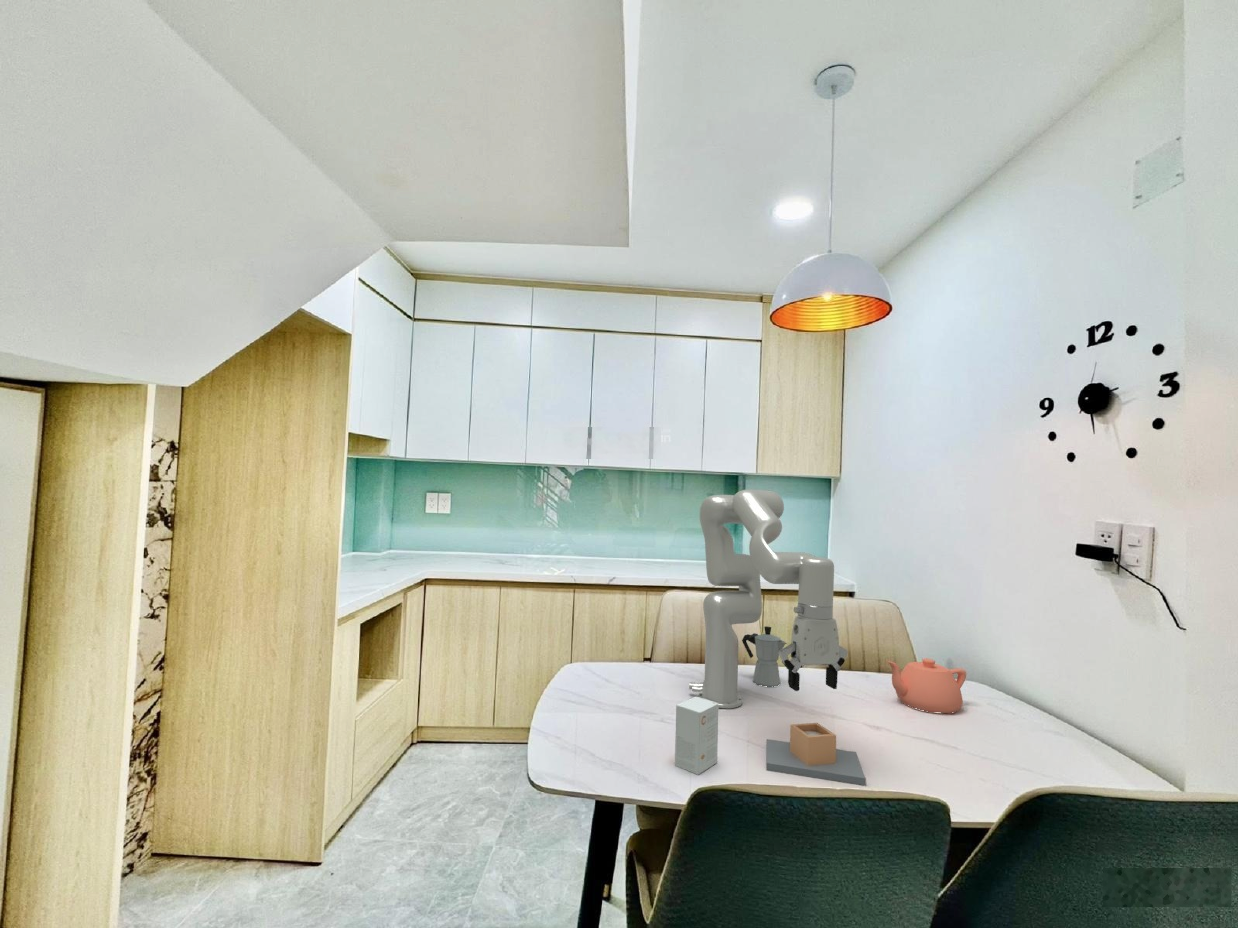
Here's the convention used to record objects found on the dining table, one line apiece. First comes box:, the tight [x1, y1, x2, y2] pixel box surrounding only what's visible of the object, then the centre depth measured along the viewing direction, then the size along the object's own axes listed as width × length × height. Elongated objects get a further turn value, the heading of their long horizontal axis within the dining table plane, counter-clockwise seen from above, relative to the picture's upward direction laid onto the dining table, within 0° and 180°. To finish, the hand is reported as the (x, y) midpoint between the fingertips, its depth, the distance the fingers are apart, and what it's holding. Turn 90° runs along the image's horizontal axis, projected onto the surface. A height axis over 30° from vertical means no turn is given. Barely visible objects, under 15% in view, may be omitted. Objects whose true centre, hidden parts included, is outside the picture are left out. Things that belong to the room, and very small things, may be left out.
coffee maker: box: [741, 626, 788, 688], centre depth 183 cm, size 15×9×18 cm, turn 58°
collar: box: [789, 722, 837, 766], centre depth 126 cm, size 7×7×6 cm
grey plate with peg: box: [765, 731, 867, 787], centre depth 126 cm, size 20×13×6 cm, turn 75°
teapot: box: [886, 658, 967, 714], centre depth 168 cm, size 25×17×13 cm
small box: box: [674, 696, 720, 775], centre depth 124 cm, size 8×6×13 cm
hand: (812, 688), depth 127 cm, fingers open, 9 cm apart
